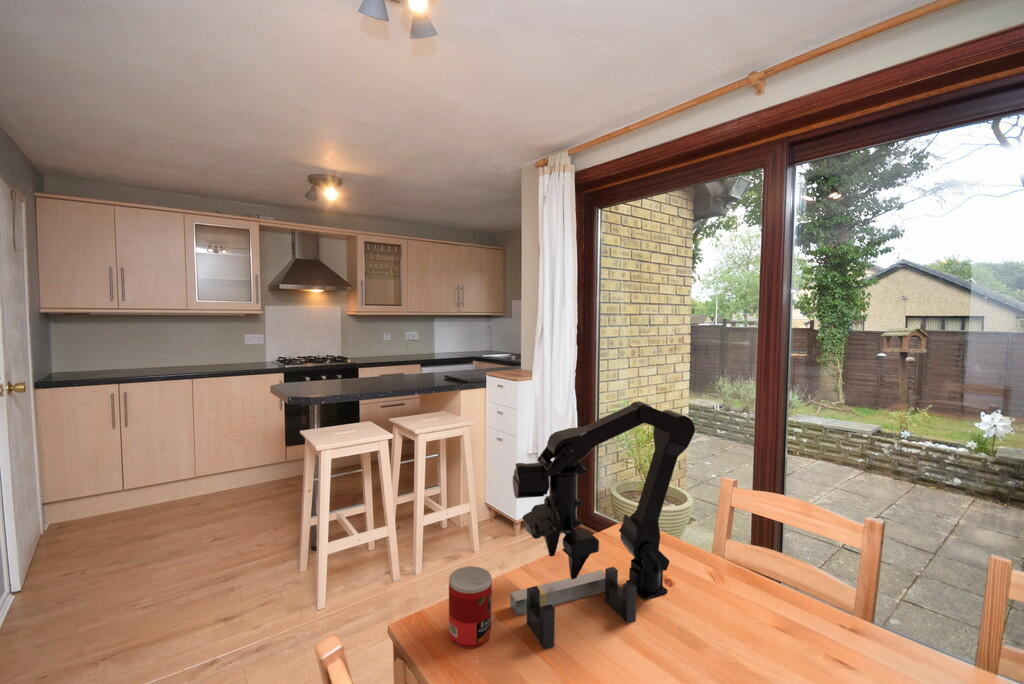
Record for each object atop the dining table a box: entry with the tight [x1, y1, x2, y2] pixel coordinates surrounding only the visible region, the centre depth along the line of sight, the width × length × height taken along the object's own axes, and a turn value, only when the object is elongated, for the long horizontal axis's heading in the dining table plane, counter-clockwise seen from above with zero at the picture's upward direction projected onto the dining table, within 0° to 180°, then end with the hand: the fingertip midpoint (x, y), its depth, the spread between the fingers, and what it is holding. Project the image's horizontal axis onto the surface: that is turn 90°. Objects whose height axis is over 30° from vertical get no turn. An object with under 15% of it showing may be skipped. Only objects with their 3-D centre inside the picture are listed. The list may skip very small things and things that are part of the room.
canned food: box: [448, 566, 493, 649], centre depth 84 cm, size 8×8×11 cm
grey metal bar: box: [509, 569, 605, 616], centre depth 95 cm, size 22×3×3 cm, turn 113°
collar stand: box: [526, 566, 637, 650], centre depth 88 cm, size 20×8×7 cm, turn 113°
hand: (562, 566), depth 95 cm, fingers open, 9 cm apart
